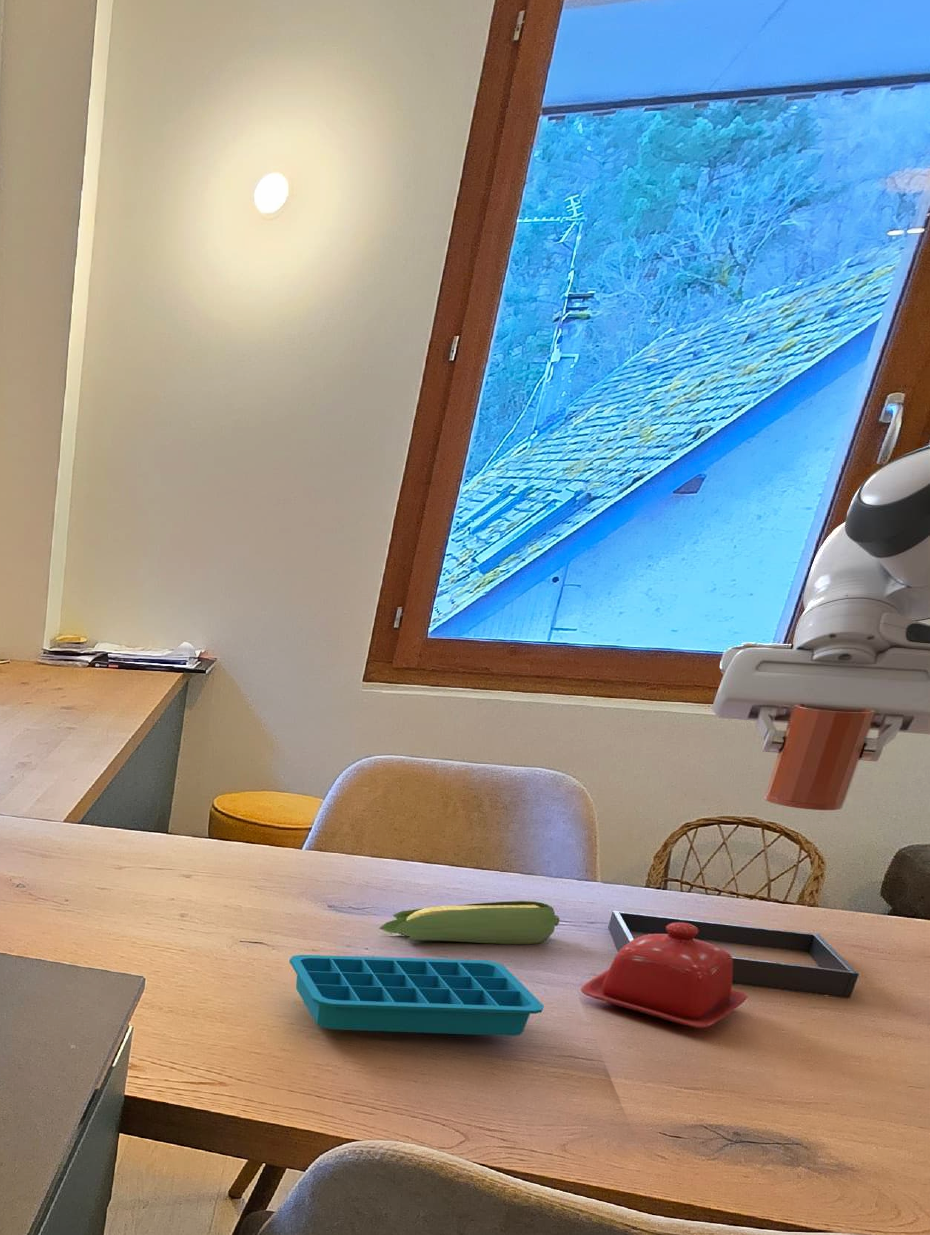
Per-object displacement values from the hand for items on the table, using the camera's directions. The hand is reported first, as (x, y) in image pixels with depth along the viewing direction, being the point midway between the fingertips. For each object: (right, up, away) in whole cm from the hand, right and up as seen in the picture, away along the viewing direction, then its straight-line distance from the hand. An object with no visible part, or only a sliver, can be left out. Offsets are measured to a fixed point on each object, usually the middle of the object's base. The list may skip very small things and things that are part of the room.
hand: (820, 753), depth 123 cm
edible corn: (-32, -19, +11) cm, 39 cm away
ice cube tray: (-48, -27, -9) cm, 56 cm away
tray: (-8, -22, +4) cm, 24 cm away
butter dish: (-22, -27, -7) cm, 35 cm away
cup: (0, -5, +3) cm, 5 cm away
